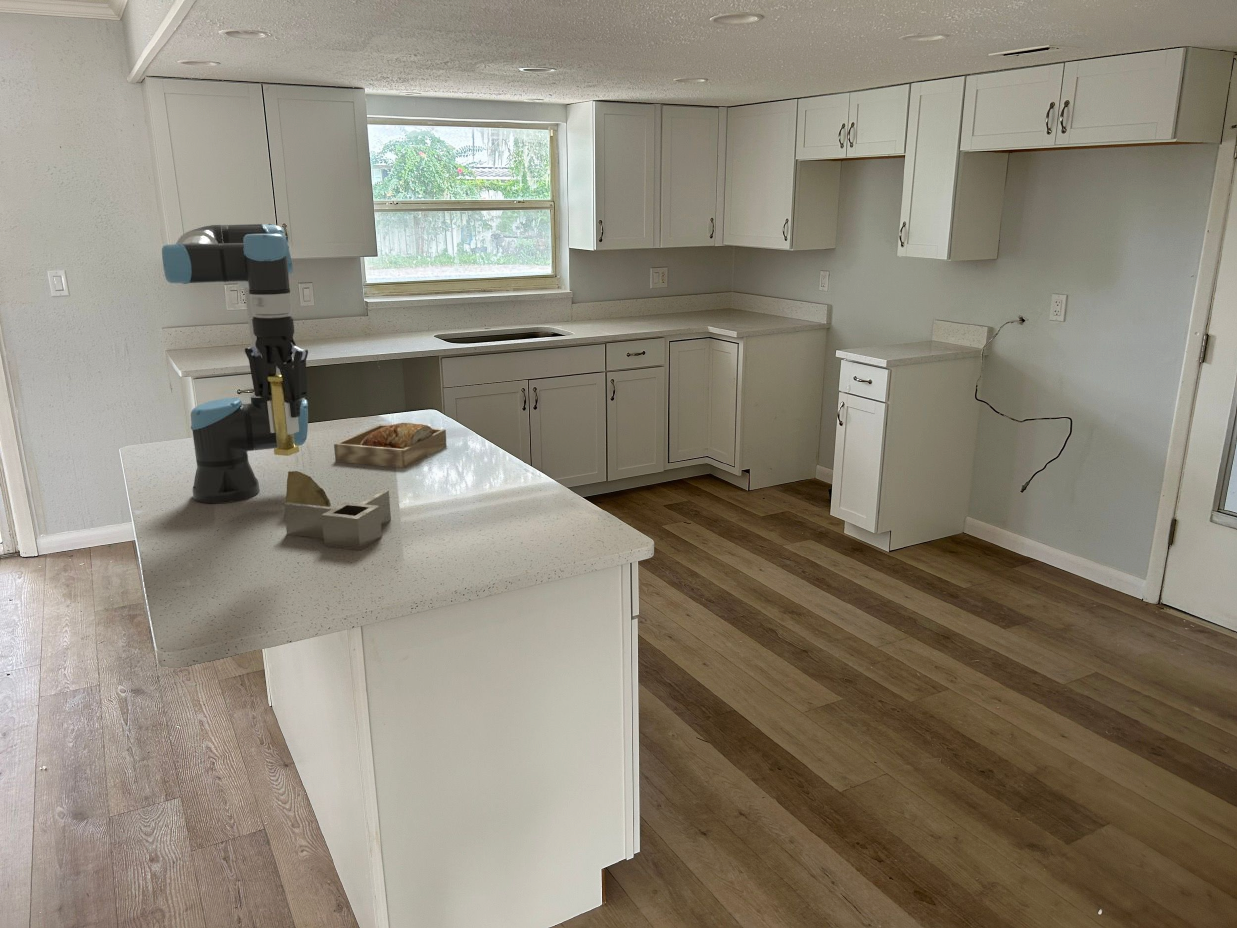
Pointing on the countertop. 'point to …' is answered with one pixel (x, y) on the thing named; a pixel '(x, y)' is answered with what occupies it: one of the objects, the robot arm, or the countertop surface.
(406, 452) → the bread crate
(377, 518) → the hinge
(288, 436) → the hinge pin
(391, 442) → the bread
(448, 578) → the countertop surface
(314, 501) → the rock
